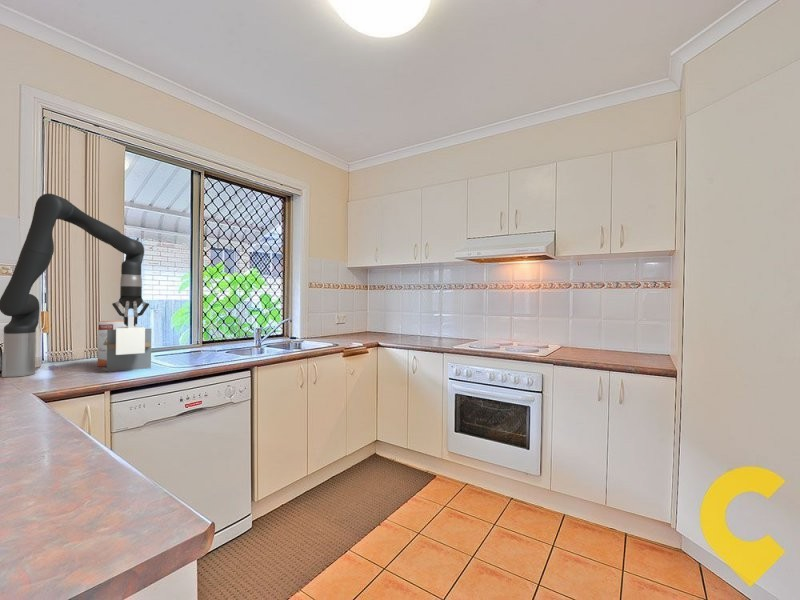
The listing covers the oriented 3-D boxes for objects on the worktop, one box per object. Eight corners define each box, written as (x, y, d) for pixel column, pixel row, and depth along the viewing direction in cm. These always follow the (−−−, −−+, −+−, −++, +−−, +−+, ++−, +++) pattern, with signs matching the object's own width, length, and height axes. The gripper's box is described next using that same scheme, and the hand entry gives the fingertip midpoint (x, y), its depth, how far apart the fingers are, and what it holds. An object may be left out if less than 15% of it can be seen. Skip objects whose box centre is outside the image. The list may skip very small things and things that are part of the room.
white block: (115, 354, 158) (116, 316, 158) (115, 352, 163) (115, 315, 163) (144, 353, 164) (145, 316, 164) (143, 351, 170) (143, 315, 170)
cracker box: (97, 367, 172) (97, 321, 172) (99, 365, 178) (100, 320, 177) (134, 365, 180) (135, 321, 179) (135, 363, 185) (136, 320, 185)
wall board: (106, 372, 162) (107, 330, 162) (106, 369, 168) (107, 329, 168) (151, 368, 172) (151, 329, 172) (149, 366, 178) (150, 327, 178)
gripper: (111, 284, 156) (110, 327, 156) (151, 285, 164) (150, 325, 164) (110, 285, 162) (110, 325, 162) (149, 286, 170) (149, 324, 170)
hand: (130, 325), depth 163 cm, fingers closed on white block
